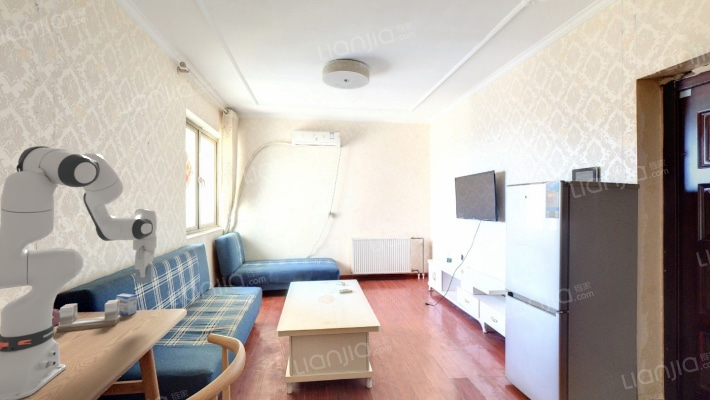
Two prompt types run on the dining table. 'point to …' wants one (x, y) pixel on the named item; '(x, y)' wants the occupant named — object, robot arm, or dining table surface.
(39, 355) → the robot arm
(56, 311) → the video game controller
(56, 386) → the dining table surface
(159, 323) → the dining table surface
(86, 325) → the rail mount
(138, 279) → the module block
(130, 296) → the medicine box
